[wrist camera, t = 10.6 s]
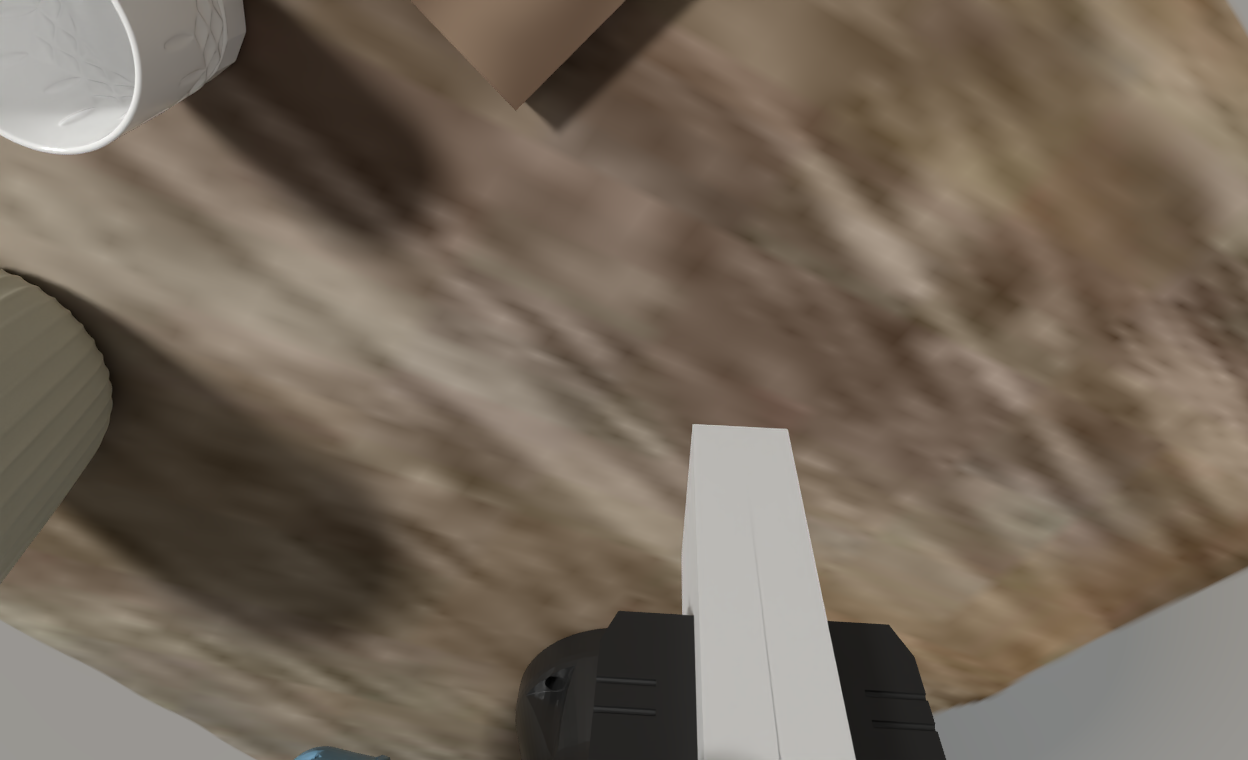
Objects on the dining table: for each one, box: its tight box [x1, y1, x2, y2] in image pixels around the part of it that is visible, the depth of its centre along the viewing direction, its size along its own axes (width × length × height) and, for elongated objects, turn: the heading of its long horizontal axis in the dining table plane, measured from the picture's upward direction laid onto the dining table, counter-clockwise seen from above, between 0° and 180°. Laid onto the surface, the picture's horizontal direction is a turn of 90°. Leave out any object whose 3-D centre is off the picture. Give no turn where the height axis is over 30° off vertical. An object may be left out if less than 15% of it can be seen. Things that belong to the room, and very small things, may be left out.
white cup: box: [0, 0, 246, 155], centre depth 34 cm, size 8×8×10 cm
